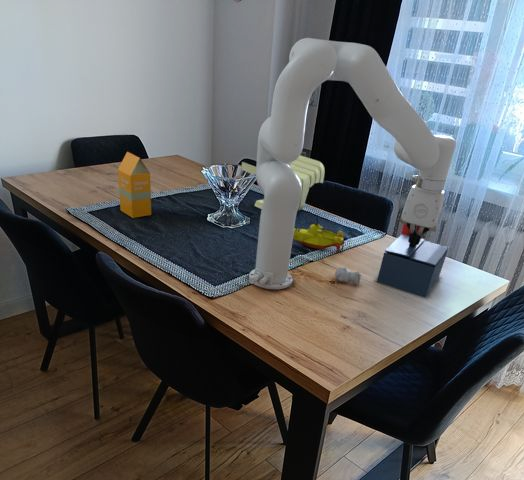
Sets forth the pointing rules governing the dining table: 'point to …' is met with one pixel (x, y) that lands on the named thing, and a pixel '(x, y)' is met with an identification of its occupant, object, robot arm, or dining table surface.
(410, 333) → the dining table surface
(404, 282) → the carton
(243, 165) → the slatted curved stool
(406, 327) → the dining table surface
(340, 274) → the pale two-lobed sculpture
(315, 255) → the dining table surface
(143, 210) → the orange juice
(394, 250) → the flap
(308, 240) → the toy boat
